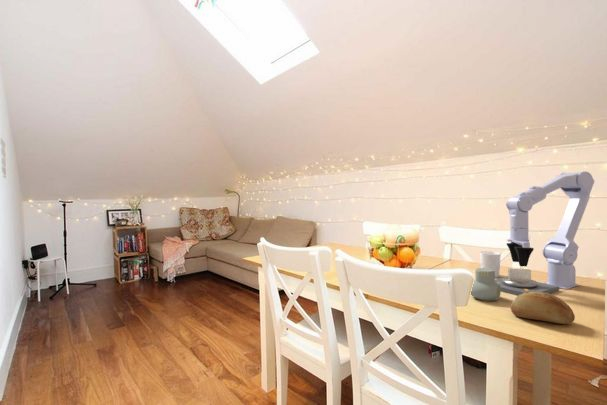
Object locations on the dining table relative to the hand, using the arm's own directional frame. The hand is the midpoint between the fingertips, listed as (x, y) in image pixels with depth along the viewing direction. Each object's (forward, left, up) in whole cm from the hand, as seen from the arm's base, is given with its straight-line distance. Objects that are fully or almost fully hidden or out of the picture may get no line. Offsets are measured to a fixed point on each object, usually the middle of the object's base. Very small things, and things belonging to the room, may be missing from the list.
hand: (519, 263), depth 125 cm
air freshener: (+21, 0, -10) cm, 23 cm away
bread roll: (+26, +20, -10) cm, 34 cm away
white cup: (-9, -17, -10) cm, 22 cm away
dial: (0, 0, -8) cm, 8 cm away
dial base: (0, 0, -9) cm, 9 cm away
